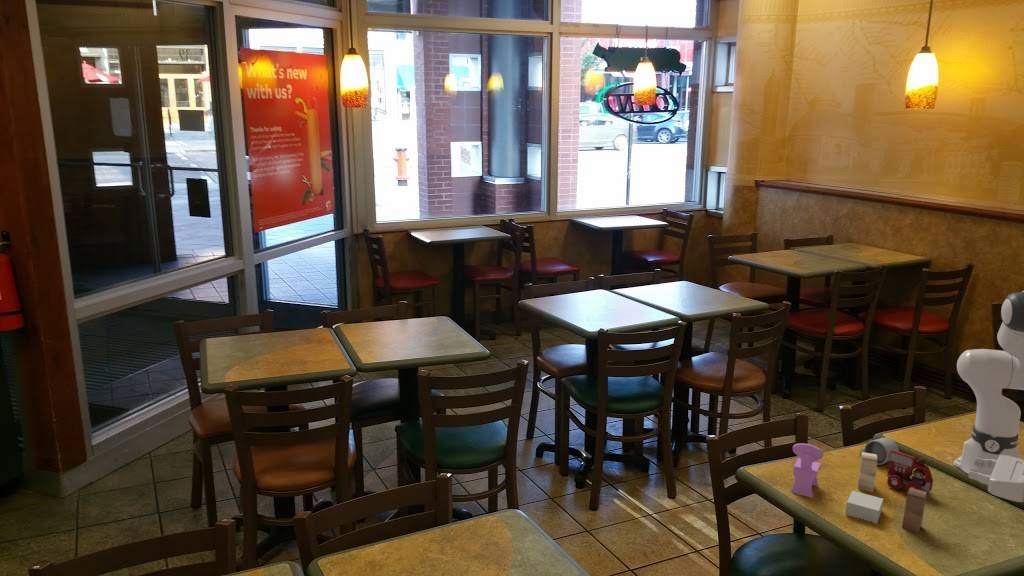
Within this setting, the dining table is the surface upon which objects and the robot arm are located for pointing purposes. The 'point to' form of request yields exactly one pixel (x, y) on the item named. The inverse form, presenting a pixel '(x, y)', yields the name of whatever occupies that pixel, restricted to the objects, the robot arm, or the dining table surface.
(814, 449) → the toy chair
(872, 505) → the pedestal block
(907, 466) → the toy fire truck
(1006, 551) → the dining table surface
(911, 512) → the walnut block
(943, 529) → the dining table surface
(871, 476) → the maple block
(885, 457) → the ceramic mug
